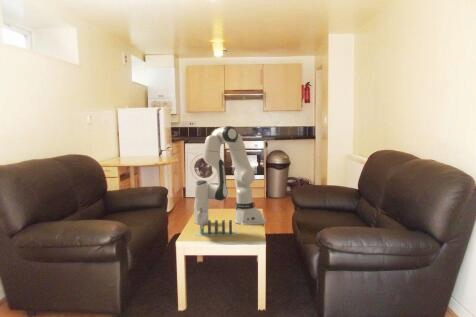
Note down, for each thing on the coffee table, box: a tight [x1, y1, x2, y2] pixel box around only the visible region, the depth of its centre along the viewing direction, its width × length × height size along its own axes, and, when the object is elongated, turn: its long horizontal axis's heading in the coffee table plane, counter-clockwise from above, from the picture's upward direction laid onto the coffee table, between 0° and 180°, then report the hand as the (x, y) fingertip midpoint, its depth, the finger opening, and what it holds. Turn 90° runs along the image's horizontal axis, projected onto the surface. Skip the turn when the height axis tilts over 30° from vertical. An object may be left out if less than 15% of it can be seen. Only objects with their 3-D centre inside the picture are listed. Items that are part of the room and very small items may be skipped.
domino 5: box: [228, 219, 233, 234], centre depth 219 cm, size 2×4×8 cm, turn 179°
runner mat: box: [195, 231, 238, 236], centre depth 219 cm, size 26×7×1 cm, turn 89°
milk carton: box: [193, 201, 209, 225], centre depth 242 cm, size 7×7×19 cm
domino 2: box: [207, 219, 212, 236], centre depth 219 cm, size 2×4×8 cm, turn 179°
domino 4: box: [221, 219, 226, 236], centre depth 219 cm, size 2×4×8 cm, turn 179°
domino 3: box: [214, 219, 219, 236], centre depth 219 cm, size 2×4×8 cm, turn 179°
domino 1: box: [200, 224, 205, 234], centre depth 219 cm, size 2×4×8 cm, turn 179°
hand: (202, 227), depth 219 cm, fingers closed on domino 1, 4 cm apart
